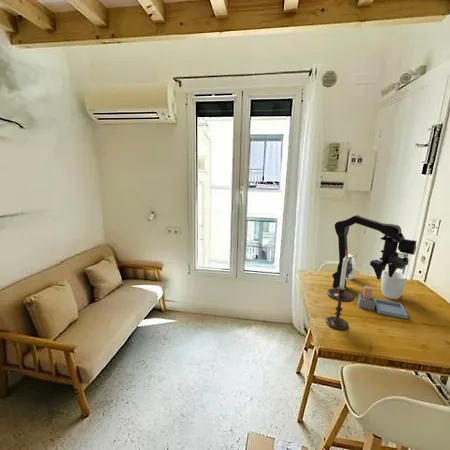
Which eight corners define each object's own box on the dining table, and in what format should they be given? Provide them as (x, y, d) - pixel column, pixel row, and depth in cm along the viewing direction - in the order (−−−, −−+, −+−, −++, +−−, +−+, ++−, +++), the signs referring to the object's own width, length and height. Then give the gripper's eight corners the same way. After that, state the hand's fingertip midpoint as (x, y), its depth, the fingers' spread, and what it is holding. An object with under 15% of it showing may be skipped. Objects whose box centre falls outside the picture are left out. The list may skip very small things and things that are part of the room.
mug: (386, 288, 155) (389, 267, 152) (407, 295, 147) (412, 273, 144) (375, 295, 146) (379, 273, 143) (398, 304, 138) (402, 280, 135)
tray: (377, 314, 127) (378, 309, 126) (373, 303, 138) (374, 298, 137) (406, 320, 123) (407, 315, 122) (400, 308, 134) (401, 303, 133)
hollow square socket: (358, 308, 132) (360, 299, 131) (357, 302, 138) (358, 293, 137) (373, 311, 130) (375, 301, 129) (371, 304, 136) (373, 296, 135)
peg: (362, 306, 133) (365, 288, 131) (361, 303, 136) (364, 285, 134) (369, 307, 132) (372, 289, 130) (368, 304, 135) (371, 286, 133)
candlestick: (344, 334, 110) (356, 254, 103) (319, 323, 117) (328, 248, 110) (353, 324, 118) (365, 249, 111) (329, 314, 125) (338, 243, 118)
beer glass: (354, 280, 166) (358, 257, 163) (343, 279, 167) (346, 256, 164) (352, 276, 172) (355, 254, 169) (340, 275, 174) (343, 253, 171)
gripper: (393, 256, 123) (387, 287, 126) (418, 252, 131) (411, 282, 134) (371, 249, 133) (366, 278, 136) (395, 246, 140) (390, 273, 144)
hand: (384, 278), depth 137 cm, fingers open, 9 cm apart
